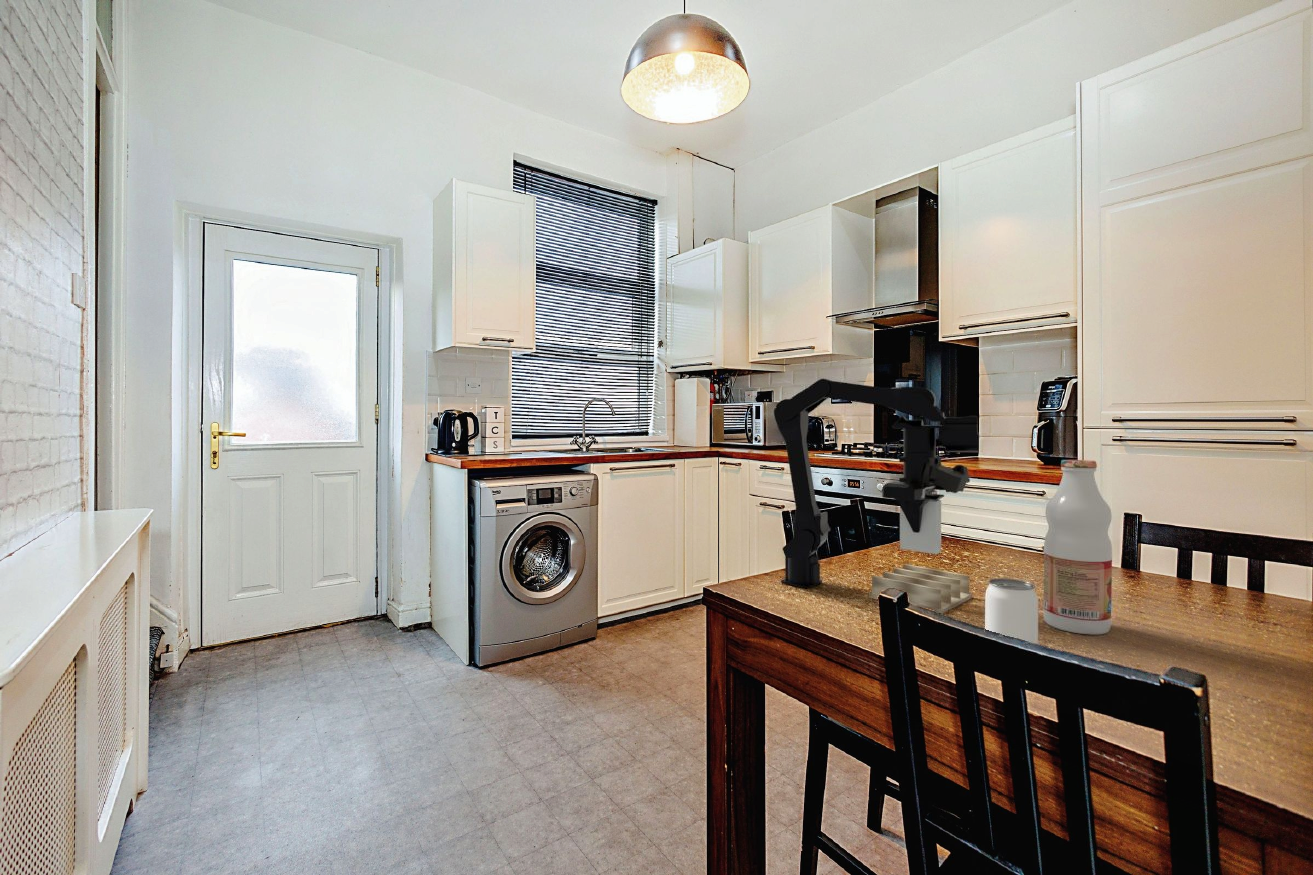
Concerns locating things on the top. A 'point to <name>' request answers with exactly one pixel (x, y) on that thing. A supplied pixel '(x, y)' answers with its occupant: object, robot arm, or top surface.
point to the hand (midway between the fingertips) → (919, 531)
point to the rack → (925, 587)
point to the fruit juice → (1078, 554)
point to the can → (1012, 609)
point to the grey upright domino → (923, 530)
